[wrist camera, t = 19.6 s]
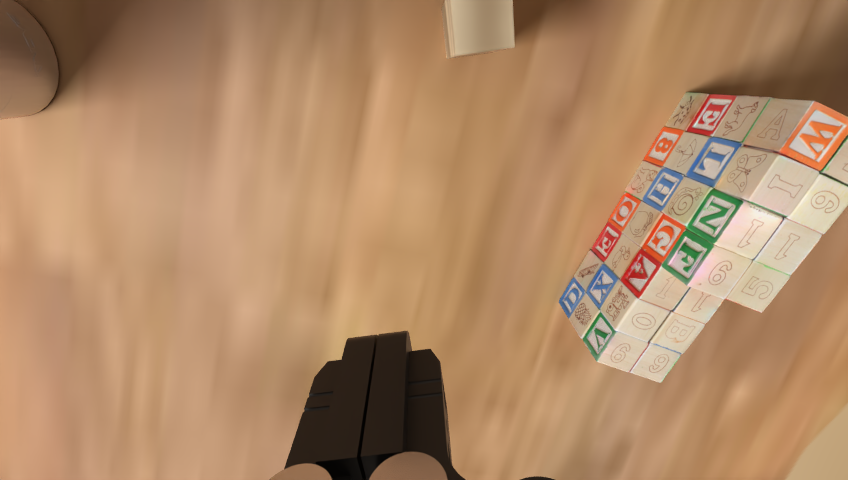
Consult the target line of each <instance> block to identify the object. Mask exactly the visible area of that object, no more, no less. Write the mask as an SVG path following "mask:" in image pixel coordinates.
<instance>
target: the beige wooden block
mask: <svg viewBox="0 0 848 480" xmlns="http://www.w3.org/2000/svg"><path fill="white" fill-rule="evenodd" d="M442 18H443V28H444V38H445V48H446V58H447V59H449V58H456V57H463V56H470V55H478V54H485V53H491V52H496V51H500V50H505V49H509V48H514V47H515V43H514V20H513V0H445V1H444V4H443V6H442Z"/></svg>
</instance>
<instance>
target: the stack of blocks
mask: <svg viewBox="0 0 848 480" xmlns="http://www.w3.org/2000/svg"><path fill="white" fill-rule="evenodd" d="M847 205H848V117H847V116H845V115H843V114H841V113H839V112H837V111H835V110H833V109H831V108H829V107H827V106H825V105H823V104H821V103H819V102H816V101H811V100H794V99H776V98H774V97H760V96H748V95H740V96H737V95H718V94H711V95H710V94H706V93H692V92H686V93H685V94H684V96H683V98H682V99H681V101H680V102H679V104H678V106H677V107H676V109H675V111H674V112H673V114H672V115H671V117H670V119H669V120H668V122H667V124H666V125H665V127H663V128H662V130H661V132H660V133H659V135H658V137H657V138H656V140H655V141H654V143H653V145H652V146H651V148H650V150H649V151H648V153H647V155H646V156H645V158H644V160H643V161H642V163H641V164H640V166H639V167H638V169H637V171H636V172H635V174H634V176H633V177H632V179H631V181H630V182H629V184H628V186H627V187H626V189H625V193H624V195H623V196H622V198H621V200H620V201H619V203H618V205H617V206H616V208H615V210H614V211H613V213H612V215H611V216H610V218H609V219H608V223H607V224H606V226H605V227H604V229H603V230H602V232H601V234H600V235H599V237H598V239H597V240H596V242H595V244H594V245H593V247H592V249H591V250H590V251H589V252H588V253H587V255H586V257H585V258H584V260H583V262H582V263H581V265H580V267H579V268H578V270H577V272H576V273H575V275H574V277H573V279H572V280H571V282H570V283H569V285H568V287H567V288H566V290H565V292H564V293H563V295H562V297H561V298H560V300H559V303H560V305H561V307H562V308H563V310H564V312H565V313H566V315H567V317H568V318H569V319H570V322H571V324H572V325H573V327H574V329H575V330H576V332H577V333H578V335H579V336H580V338H581V339H583V341H584V343H585V344H586V346H587V347H588V349H589V351H590V352H591V354H592V355H593V357H594V358H595V360H596V361H597V362H600V363H602V364H605V365H608V366H611V367H614V368H617V369H620V370H622V371H625V372H631V373H633V374H636V375H639V376H642V377H644V378H648V379H650V380H653V381H656V382H659V383H661V382H662V381H663V380H664V378H665V377H666V375H667V374H668V373H669V371H670V370H671V368H672V367H673V366H674V365H675V363H676V362H677V360H678V359H679V358H680V355H681V354H683V353H684V352H685V351H686V350H687V348H688V347H689V346H690V345H691V343H692V342H693V341H694V339H695V338H696V337H697V335H698V334H699V333H700V331H701V330H702V329H703V327H704V325H705V324H706V323H707V322H708V321H709V320H710V318H711V317H712V316H713V314H714V313H715V312H716V310H717V309H718V308H719V306H720V305H721V303H722V302H723V301H724V299H727V300H730V301H732V302H735V303H738V304H740V305H743V306H745V307H748V308H750V309H752V310H755V311H757V312H760V313H761V312H763V311H764V310H765V308H766V307H767V306H768V305H769V303H770V302H771V301H772V300H773V298H774V297H775V296H776V295H777V293H778V292H779V291H780V290H781V288H782V287H783V286H784V285H785V283H786V282H787V281H788V279H789V278H790V275H791V274H792V273H793V272H794V271H795V270H796V269H797V268H798V267H799V265H800V264H801V263H802V261H803V260H804V259H805V258H806V256H807V255H808V254H809V252H810V251H811V250H812V249H813V248H814V246H815V245H816V244H817V242H818V241H819V240H820V238H821V236H822V235H823V234H825V233H826V231H827V230H828V229H829V228H830V227H831V225H832V224H833V223H834V221H835V220H836V219H837V218H838V217H839V215H840V214H841V213H842V212H843V210H844V209H845V208H846V207H847Z"/></svg>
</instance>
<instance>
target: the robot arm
mask: <svg viewBox="0 0 848 480" xmlns="http://www.w3.org/2000/svg"><path fill="white" fill-rule="evenodd" d="M58 77H59V71H58V63H57V58H56V55H55V52H54V49H53V46H52V44H51V42H50V40H49V38H48V37H47V35H46V33H45V31H44V30H43V29H42V27H41V26H40V25H39V23H38V22H37V21H36V19H35V18H34V17H33V16H32V15H31V14H30V13H29V12H28V11H27V10H26V9H25V8H24V7H22V6H21V5H20V4H18V3H17V2H15V1H14V0H0V119H8V118H16V117H23V116H30V115H32V114H35V113H37V112H40V111H41V110H42V109H43V108H45V107H46V106H47V105H48V104H49V103H50V101H51V100H52V99H53V97H54V95H55V92H56V89H57V86H58ZM304 410H305V411H304V412H303V414H302V417H301V420H300V423H299V426H298V429H297V432H296V435H295V438H294V441H293V444H292V447H291V450H290V453H289V456H288V459H287V462H286V465H285V468H284V470H282V471H281V472H279V473H277V474H276V475H274V476H273V477H272V478H271V479H270V480H465V479H464V478H463V477H461V476H460V475H459V474H458V473H457V472H456V470H455V469H454V468H453V466H452V459H451V448H450V436H449V425H448V414H447V406H446V399H445V392H444V385H443V379H442V372H441V365H440V361H439V360H438V358H437V357H436V356H435V354H434V353H433V352H432V350H431V349H425V350H417V351H412V348H411V342H410V337H409V333H408V331H402V332H394V333H386V334H379V335H370V336H362V337H354V338H348V339H347V341H346V345H345V348H344V352H343V356H342V360H336V361H328V362H327V363H326V364H325V365H324V367H323V368H322V369H321V370H320V371H319V373H318V374H317V375H316V376H315V378H314V381H313V384H312V387H311V390H310V393H309V397H308V399H307V402H306V405H305V408H304ZM521 480H554V479H551V478H546V477H528V478H524V479H521Z"/></svg>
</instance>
